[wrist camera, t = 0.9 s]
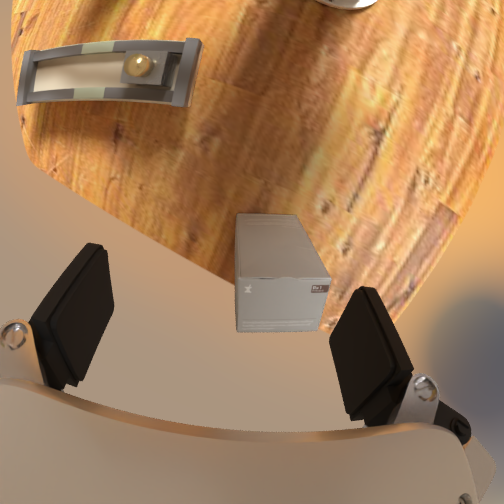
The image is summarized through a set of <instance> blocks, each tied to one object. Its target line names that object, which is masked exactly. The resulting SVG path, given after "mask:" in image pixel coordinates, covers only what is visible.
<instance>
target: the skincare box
mask: <svg viewBox="0 0 504 504" xmlns="http://www.w3.org/2000/svg"><path fill="white" fill-rule="evenodd" d="M331 280H332V279H331V277H330V275H329V273H328V271H327V270H326V268H325V266H324V264H323V262H322V261H321V259H320V257H319V255H318V253H317V252H316V250H315V248H314V246H313V244H312V242H311V240H310V239H309V237H308V235H307V233H306V231H305V230H304V228H303V226H302V224H301V222H300V221H299V219H298V217H297V215H283V214H250V213H237V215H236V231H235V314H236V330H237V332H302V331H317V330H318V327H319V323H320V320H321V317H322V313H323V310H324V306H325V302H326V299H327V295H328V291H329V287H330V284H331Z"/></svg>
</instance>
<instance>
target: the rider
mask: <svg viewBox="0 0 504 504" xmlns="http://www.w3.org/2000/svg"><path fill="white" fill-rule="evenodd" d="M177 61H178V57H176V56H175V55H173V54H172V53H170V52H168V51H142V50H132V51H126V55H125V59H124V64H123V68H122V73H121V78H120V83H125V84H136V85H154V86H167V87H172V84H173V79H174V74H175V70H176V66H177Z"/></svg>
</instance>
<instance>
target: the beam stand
mask: <svg viewBox="0 0 504 504" xmlns="http://www.w3.org/2000/svg"><path fill="white" fill-rule="evenodd" d="M203 49H204V45H203V43H202V42H201V41H200V39H197V38H186V41H172V40H117V41H102V42H91V43H83V44H75V45H68V46H62V47H56V48H51V49H46V50H41V51H39V50H29V51H25V52H24V57H23V62H22V67H21V73H20V79H19V86H18V94H17V104H16V106H20V105H26V104H32V103H43V102H58V101H129V102H145V103H157V104H167V105H171V106H177V107H190V106H191V101H192V96H193V91H194V87H195V82H196V78H197V74H198V69H199V65H200V61H201V57H202V53H203ZM132 50H142V51H168V52H170V53H172V54H173V55H175V56H176V57H178V61H177V66H176V70H175V74H174V79H173V84H172V87H167V86H154V85H136V84H125V83H120V78H121V73H122V68H123V64H124V59H125V55H126V51H132Z"/></svg>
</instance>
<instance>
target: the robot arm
mask: <svg viewBox="0 0 504 504" xmlns="http://www.w3.org/2000/svg"><path fill="white" fill-rule="evenodd" d="M316 1H318V2H320V3H322V4H325V5H327V6H330V7H334V8H338V9H345V10H358V9H362V8H366V7H368V6H370V5H372V4H374V3H375V2H376V1H377V0H330V1H331V2H330V1H329V0H316ZM113 311H114V300H113V293H112V286H111V280H110V271H109V263H108V253H107V250H104V248H103V246H102V245H99V244H94V243H87V244H86V245H85V246H84V248H83V249H82V250H81V251H80V252H79V254H78V255H77V256H76V257H75V258H74V260H73V261H72V262H71V263H70V265H69V266H68V267H67V269H66V270H65V271H64V272H63V273H62V275H61V276H60V278H59V279H58V280H57V281H56V283H55V284H54V285H53V287H52V288H51V289H50V291H49V292H48V294H47V295H46V296H45V298H44V299H43V301H42V302H41V303H40V305H39V306H38V308H37V309H36V311H35V312H34V314H33V315H32V317H31V319H30V321H29V322H26V321H24V320H21V319H14V320H11V321H8V322H6V323H5V324H4V325H3V326H2V327H1V328H0V504H479V502H480V501H481V499H482V497H483V496H484V494H485V492H486V491H487V489H488V487H489V485H490V483H491V481H492V479H493V477H494V475H495V472H496V465H495V461H494V460H493V458H492V457H491V456H490V455H489V453H488V452H487V451H486V450H485V449H484V447H483V446H482V445H481V444H480V442H479V441H478V440H477V439H476V438H475V437H474V436H472V437H471V427H470V424H469V422H468V421H467V419H466V418H465V417H463V416H462V415H461V414H459V413H458V412H456V411H455V410H453V409H452V408H450V407H449V406H447V405H446V404H444V403H443V402H441V401H440V400H439V398H440V391H439V387H438V385H437V383H436V382H435V381H434V380H433V379H432V378H431V377H430V376H428V375H426V374H422V373H419V374H415V375H414V376H413V375H412V373H411V372H412V371H413V370H414V368H413V365H412V363H411V361H410V358H409V356H408V355H407V352H406V350H405V347H404V345H403V343H402V341H401V339H400V337H399V334H398V332H397V330H396V328H395V326H394V324H393V322H392V320H391V318H390V316H389V314H388V312H387V310H386V308H385V306H384V304H383V302H382V300H381V298H380V296H379V294H378V292H377V291H376V289H375V288H372V287H364V286H361V287H359V289H356V290H355V291H354V292H353V294H352V296H351V298H350V300H349V302H348V304H347V306H346V308H345V310H344V312H343V314H342V315H341V317H340V319H339V321H338V323H337V325H336V326H335V328H334V330H333V332H332V334H331V336H330V339H329V344H330V348H331V352H332V356H333V360H334V364H335V368H336V372H337V376H338V380H339V384H340V389H341V393H342V397H343V401H344V406H345V411H346V413H347V414H349V415H350V420H351V421H356V420H363V419H364V422H365V425H364V426H363V428H357V429H346V430H334V431H318V432H258V431H241V430H229V429H219V428H210V427H202V426H194V425H188V424H182V423H176V422H171V421H165V420H160V419H155V418H150V417H146V416H142V415H137V414H133V413H129V412H125V411H121V410H118V409H114V408H111V407H107V406H104V405H100V404H97V403H94V402H91V401H88V400H84V399H81V398H78V397H75V396H72V395H70V394H67V393H64V391H63V389H64V387H65V385H66V384H69V385H72V386H74V387H77V385H78V383H79V380H80V381H83V379H84V378H85V375H86V373H87V370H88V368H89V365H90V363H91V361H92V358H93V356H94V353H95V351H96V349H97V346H98V344H99V342H100V340H101V337H102V335H103V333H104V331H105V329H106V326H107V324H108V322H109V320H110V318H111V316H112V314H113Z"/></svg>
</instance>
